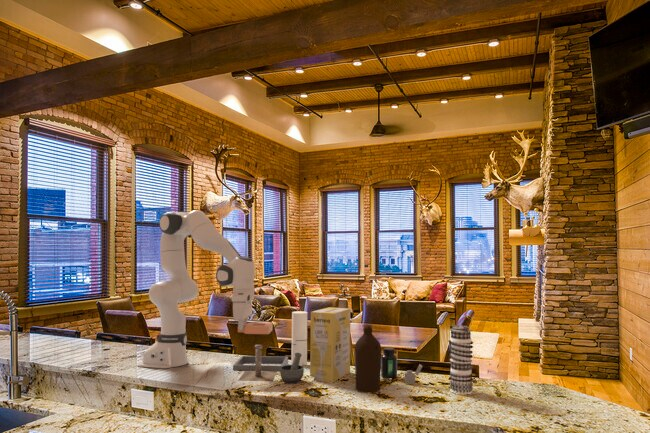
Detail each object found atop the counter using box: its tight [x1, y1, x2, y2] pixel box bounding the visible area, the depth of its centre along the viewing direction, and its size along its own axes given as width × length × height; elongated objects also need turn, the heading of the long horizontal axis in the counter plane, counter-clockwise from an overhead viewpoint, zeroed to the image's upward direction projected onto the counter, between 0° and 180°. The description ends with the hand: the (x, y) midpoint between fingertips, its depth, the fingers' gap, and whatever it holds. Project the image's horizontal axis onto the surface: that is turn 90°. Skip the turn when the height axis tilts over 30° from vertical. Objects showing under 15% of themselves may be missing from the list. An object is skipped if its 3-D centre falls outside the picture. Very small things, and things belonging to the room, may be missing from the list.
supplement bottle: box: [380, 347, 398, 379], centre depth 203 cm, size 7×7×12 cm
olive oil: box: [353, 323, 382, 393], centre depth 186 cm, size 11×11×25 cm
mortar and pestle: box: [279, 353, 305, 384], centre depth 190 cm, size 11×9×12 cm
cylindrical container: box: [290, 310, 308, 367], centre depth 219 cm, size 7×7×25 cm
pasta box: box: [309, 306, 351, 384], centre depth 204 cm, size 18×10×28 cm, turn 154°
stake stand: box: [237, 344, 278, 382], centre depth 197 cm, size 14×14×14 cm
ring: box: [237, 321, 274, 335], centre depth 198 cm, size 14×10×3 cm
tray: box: [232, 355, 289, 372], centre depth 215 cm, size 22×18×4 cm
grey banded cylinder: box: [448, 324, 474, 395], centre depth 183 cm, size 9×9×25 cm
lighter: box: [404, 363, 423, 385], centre depth 192 cm, size 7×2×8 cm, turn 75°
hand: (242, 328), depth 198 cm, fingers closed on ring, 4 cm apart
